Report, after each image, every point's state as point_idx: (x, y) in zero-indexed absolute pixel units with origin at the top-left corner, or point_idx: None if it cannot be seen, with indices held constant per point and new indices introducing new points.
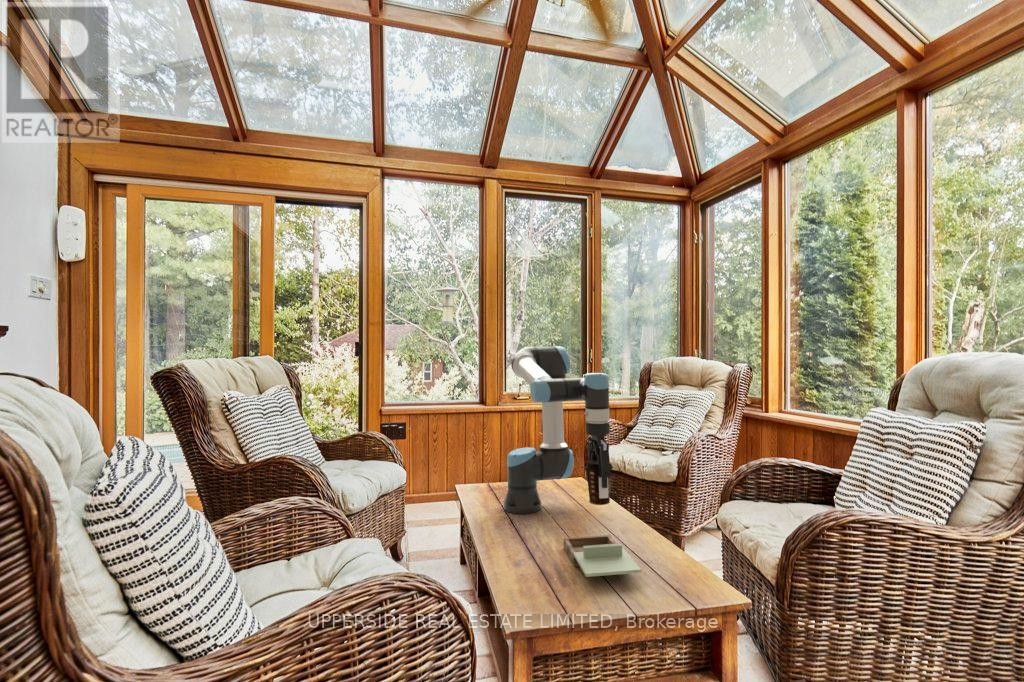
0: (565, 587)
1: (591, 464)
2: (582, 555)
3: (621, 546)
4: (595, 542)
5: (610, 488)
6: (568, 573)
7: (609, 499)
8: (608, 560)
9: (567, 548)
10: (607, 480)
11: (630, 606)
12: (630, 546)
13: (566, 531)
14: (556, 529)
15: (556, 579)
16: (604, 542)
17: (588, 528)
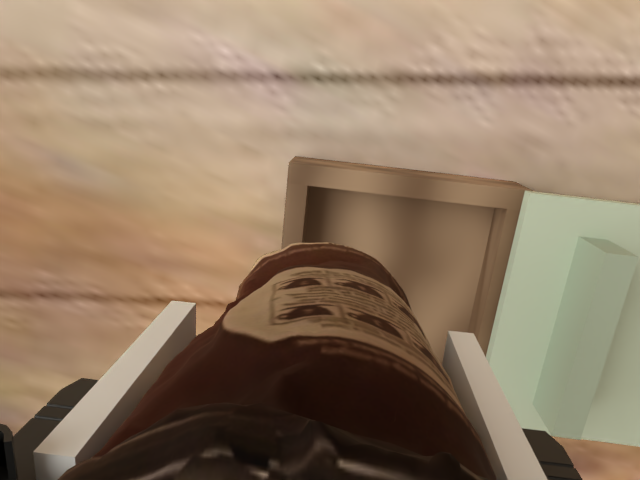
0: (606, 467)
1: None
2: (520, 402)
3: (634, 258)
4: (303, 241)
5: (395, 302)
6: None
7: (378, 267)
8: (623, 321)
9: None
10: (536, 473)
11: None
12: (341, 59)
13: (86, 287)
14: (55, 321)
15: None
16: (309, 195)
17: (62, 171)
